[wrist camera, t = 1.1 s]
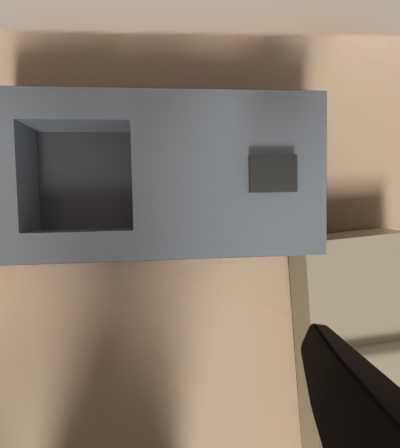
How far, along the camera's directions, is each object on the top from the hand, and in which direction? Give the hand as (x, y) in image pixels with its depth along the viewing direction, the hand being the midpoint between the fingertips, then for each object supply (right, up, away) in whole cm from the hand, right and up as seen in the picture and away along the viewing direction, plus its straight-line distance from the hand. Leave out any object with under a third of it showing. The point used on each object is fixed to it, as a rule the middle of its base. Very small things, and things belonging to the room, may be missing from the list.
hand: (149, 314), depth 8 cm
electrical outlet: (+12, -7, +16) cm, 21 cm away
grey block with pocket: (-1, +5, +14) cm, 15 cm away
